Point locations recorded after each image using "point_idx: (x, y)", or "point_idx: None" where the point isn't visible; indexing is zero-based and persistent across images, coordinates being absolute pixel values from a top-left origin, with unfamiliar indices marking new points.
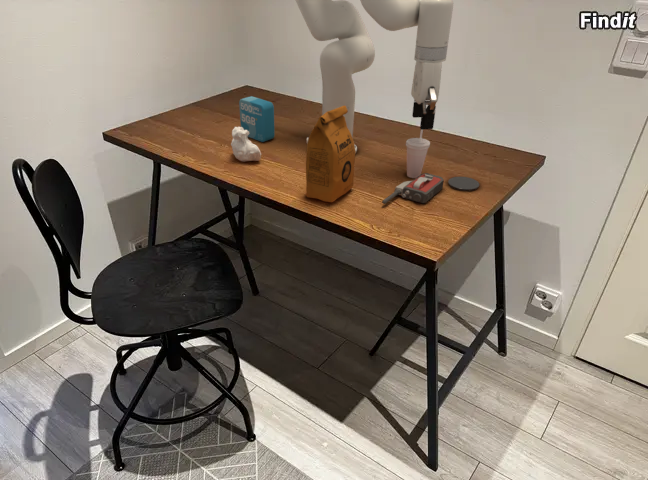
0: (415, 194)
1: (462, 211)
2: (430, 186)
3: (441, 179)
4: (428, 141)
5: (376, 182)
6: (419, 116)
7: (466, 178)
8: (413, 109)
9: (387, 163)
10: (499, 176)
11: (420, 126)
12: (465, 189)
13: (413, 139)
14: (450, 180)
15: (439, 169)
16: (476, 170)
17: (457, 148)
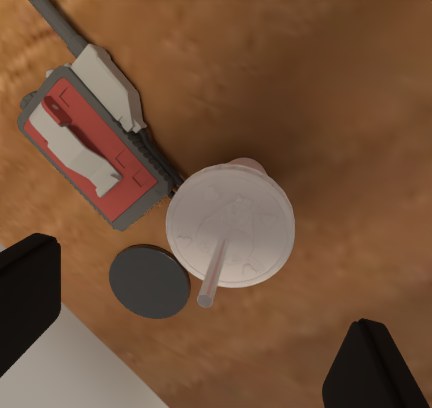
0: (27, 95)
1: (8, 203)
2: (61, 164)
3: (113, 222)
4: (219, 281)
5: (219, 12)
6: (337, 365)
7: (173, 305)
8: (394, 383)
9: (385, 129)
10: (184, 376)
11: (26, 239)
12: (110, 268)
13: (269, 226)
14: (167, 261)
15: None
16: (230, 355)
17: None
